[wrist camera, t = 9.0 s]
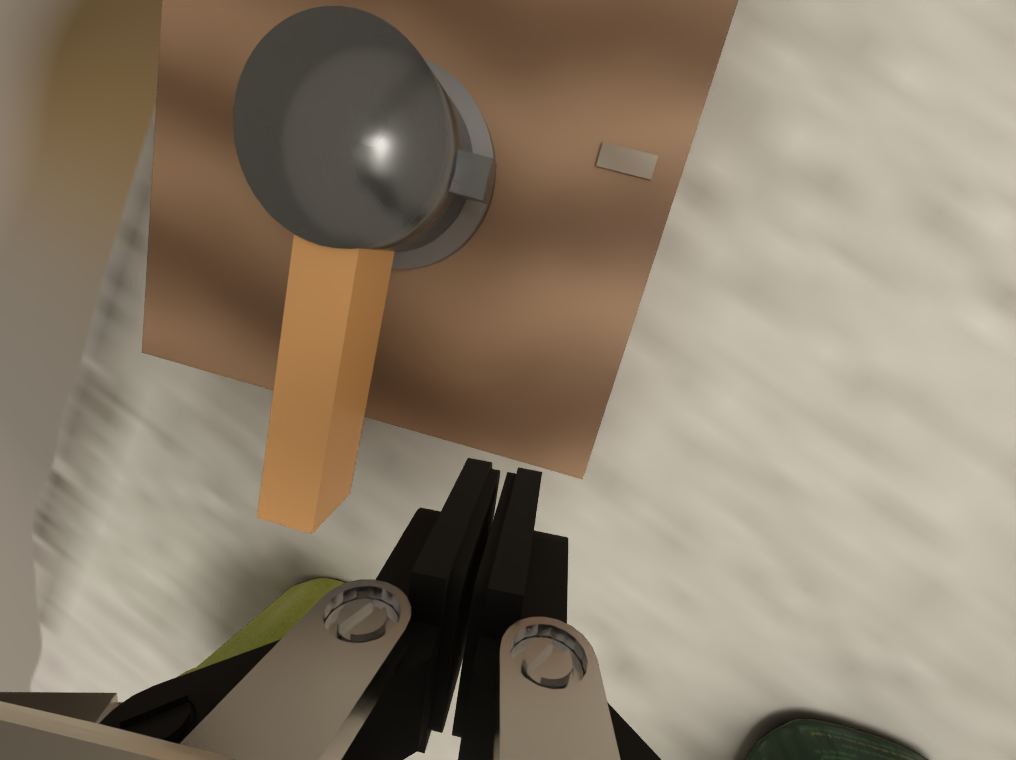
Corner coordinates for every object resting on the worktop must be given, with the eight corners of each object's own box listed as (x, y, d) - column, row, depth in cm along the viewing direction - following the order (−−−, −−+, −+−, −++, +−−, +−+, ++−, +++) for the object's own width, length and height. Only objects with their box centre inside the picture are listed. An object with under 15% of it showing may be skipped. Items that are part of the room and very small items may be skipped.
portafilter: (520, 98, 16) (506, 44, 12) (426, 505, 20) (392, 564, 16) (293, 42, 16) (209, -27, 12) (244, 452, 20) (169, 496, 16)
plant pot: (271, 519, 25) (121, 648, 16) (440, 589, 25) (375, 756, 16) (234, 655, 27) (85, 829, 19) (387, 720, 27) (306, 925, 19)
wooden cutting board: (216, -164, 18) (150, -246, 15) (742, -44, 17) (779, -107, 14) (177, 345, 23) (121, 356, 20) (580, 460, 22) (583, 490, 19)
